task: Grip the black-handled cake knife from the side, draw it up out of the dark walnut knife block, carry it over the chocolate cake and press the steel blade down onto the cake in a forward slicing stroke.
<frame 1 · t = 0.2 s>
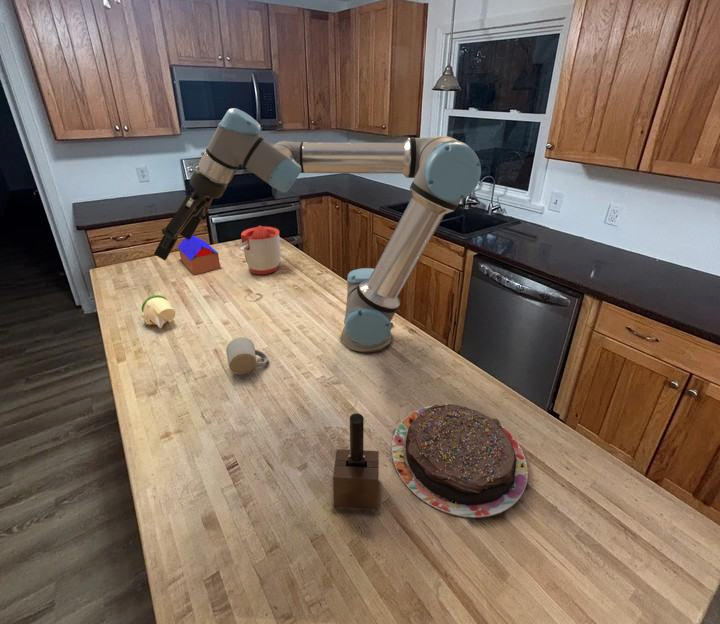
hand: (173, 246, 95), 36 cm above the table, tool tilted 35°, fingers open, 13 cm apart
knife block: (356, 496, 74), on the table
chocolate cake: (456, 457, 83), on the table
ceramic mug: (248, 366, 110), on the table
knife: (356, 493, 74), point 1 cm above the table, touching knife block
house: (200, 264, 174), on the table
citrus juicer: (262, 270, 168), on the table
cartoon head: (158, 320, 131), on the table
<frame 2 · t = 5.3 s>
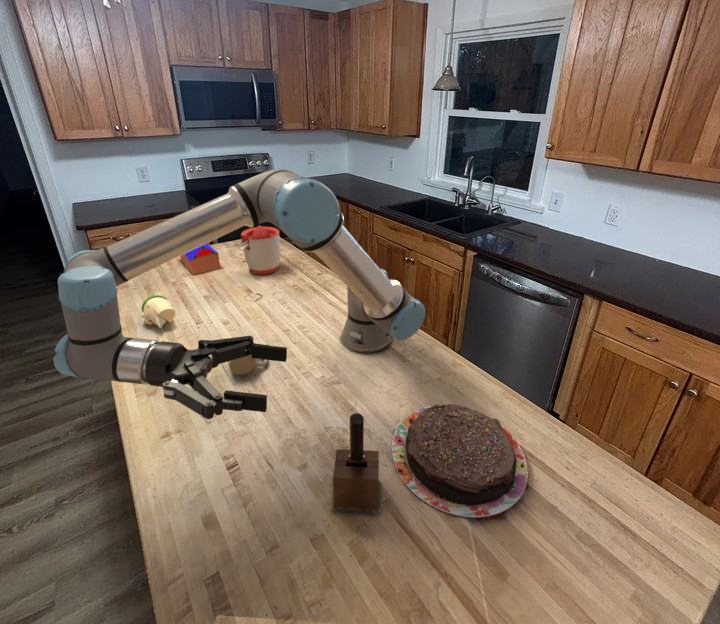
hand: (277, 376, 67), 26 cm above the table, tool horizontal, fingers open, 13 cm apart
nothing on the table moved.
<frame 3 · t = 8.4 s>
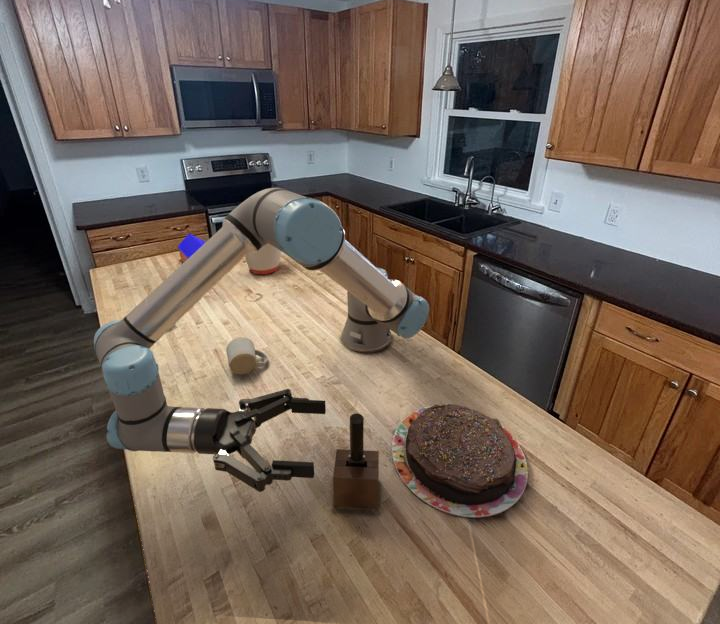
hand: (320, 436, 68), 16 cm above the table, tool horizontal, fingers open, 13 cm apart
nothing on the table moved.
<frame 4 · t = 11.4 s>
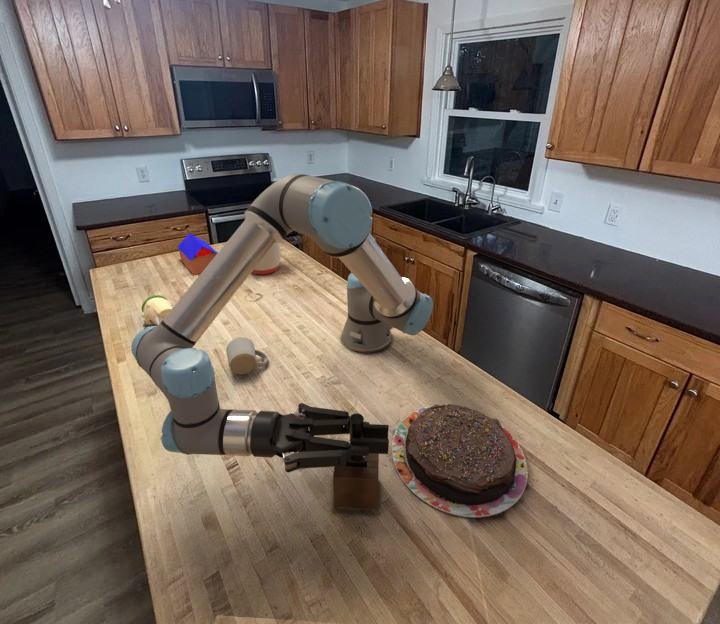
hand: (388, 439, 68), 16 cm above the table, tool horizontal, fingers closed on knife, 2 cm apart
knife: (356, 493, 74), point 1 cm above the table, touching gripper, knife block
everything else where it was.
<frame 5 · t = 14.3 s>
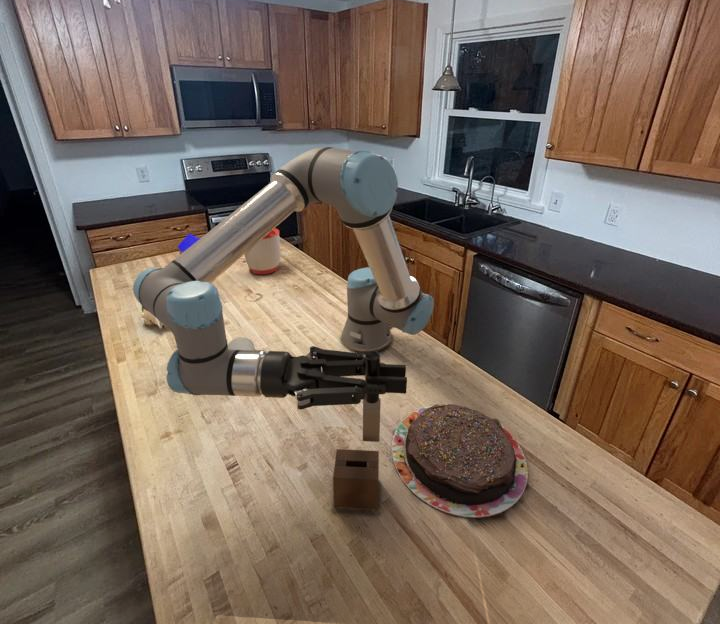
hand: (405, 378, 64), 27 cm above the table, tool horizontal, fingers closed on knife, 2 cm apart
knife: (371, 440, 70), point 13 cm above the table, touching gripper
everything else where it was.
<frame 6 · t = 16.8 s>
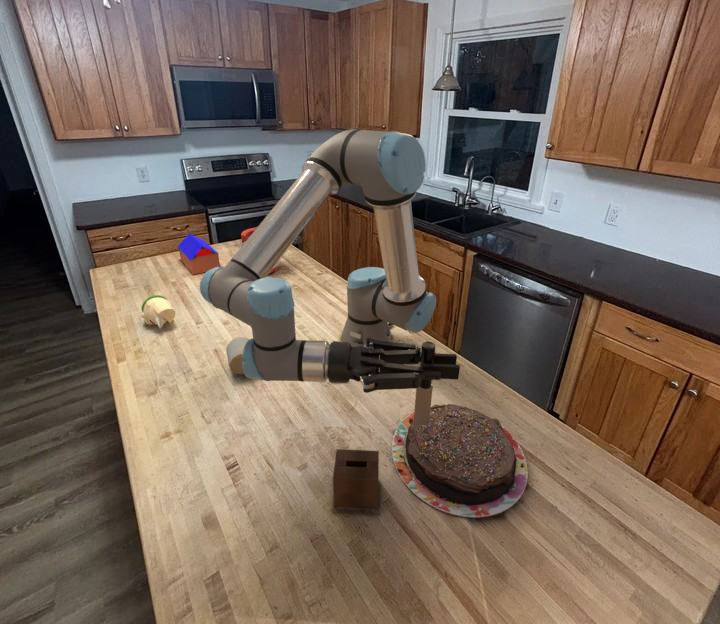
hand: (457, 366, 71), 25 cm above the table, tool horizontal, fingers closed on knife, 2 cm apart
knife: (420, 424, 77), point 10 cm above the table, touching gripper
everything else where it was.
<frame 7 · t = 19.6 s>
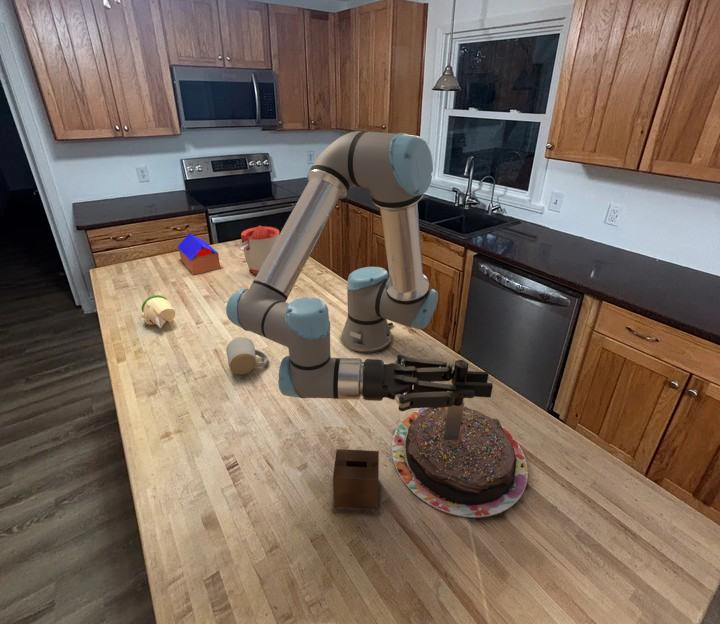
hand: (488, 384, 72), 21 cm above the table, tool horizontal, fingers closed on knife, 2 cm apart
knife: (450, 439, 78), point 7 cm above the table, touching gripper
everything else where it was.
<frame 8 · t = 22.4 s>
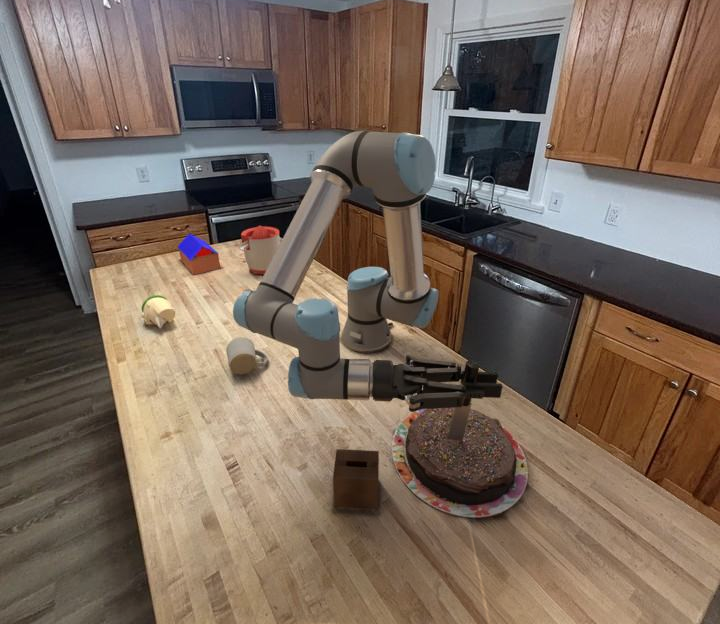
hand: (498, 384, 72), 21 cm above the table, tool horizontal, fingers closed on knife, 2 cm apart
chocolate cake: (456, 457, 83), on the table, touching knife
knife: (454, 439, 78), point 7 cm above the table, touching chocolate cake, gripper
everything else where it was.
at the end: knife touching chocolate cake, gripper; the gripper is holding knife; chocolate cake moved 0.2 cm from its start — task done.
